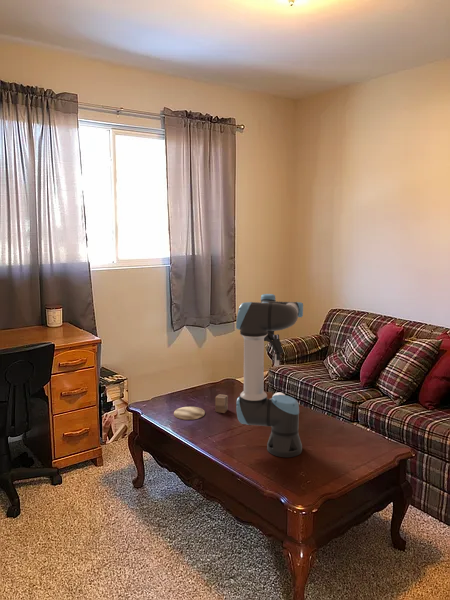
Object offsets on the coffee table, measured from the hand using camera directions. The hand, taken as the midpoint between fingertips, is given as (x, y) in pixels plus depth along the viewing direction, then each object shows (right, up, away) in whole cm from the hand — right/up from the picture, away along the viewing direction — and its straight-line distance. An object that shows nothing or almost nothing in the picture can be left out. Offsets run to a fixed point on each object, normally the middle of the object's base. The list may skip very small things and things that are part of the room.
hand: (267, 363), depth 259 cm
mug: (+5, -25, +1) cm, 25 cm away
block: (-24, -25, -1) cm, 35 cm away
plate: (-41, -26, -5) cm, 48 cm away
